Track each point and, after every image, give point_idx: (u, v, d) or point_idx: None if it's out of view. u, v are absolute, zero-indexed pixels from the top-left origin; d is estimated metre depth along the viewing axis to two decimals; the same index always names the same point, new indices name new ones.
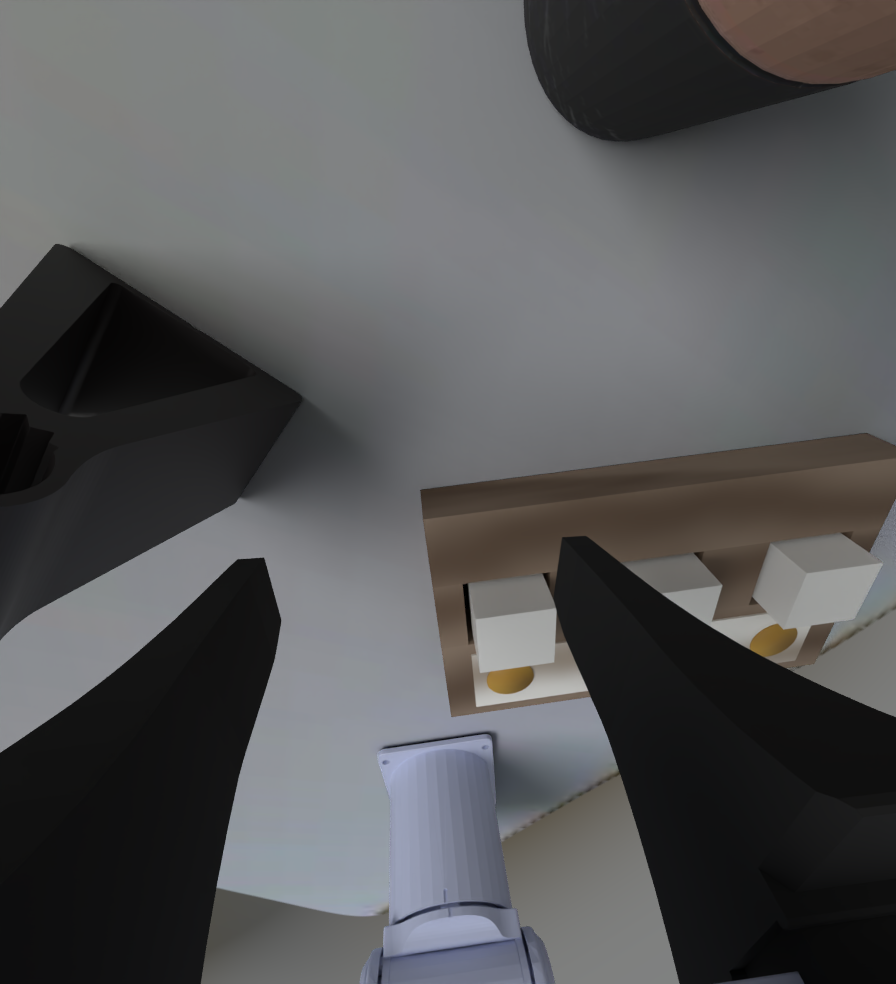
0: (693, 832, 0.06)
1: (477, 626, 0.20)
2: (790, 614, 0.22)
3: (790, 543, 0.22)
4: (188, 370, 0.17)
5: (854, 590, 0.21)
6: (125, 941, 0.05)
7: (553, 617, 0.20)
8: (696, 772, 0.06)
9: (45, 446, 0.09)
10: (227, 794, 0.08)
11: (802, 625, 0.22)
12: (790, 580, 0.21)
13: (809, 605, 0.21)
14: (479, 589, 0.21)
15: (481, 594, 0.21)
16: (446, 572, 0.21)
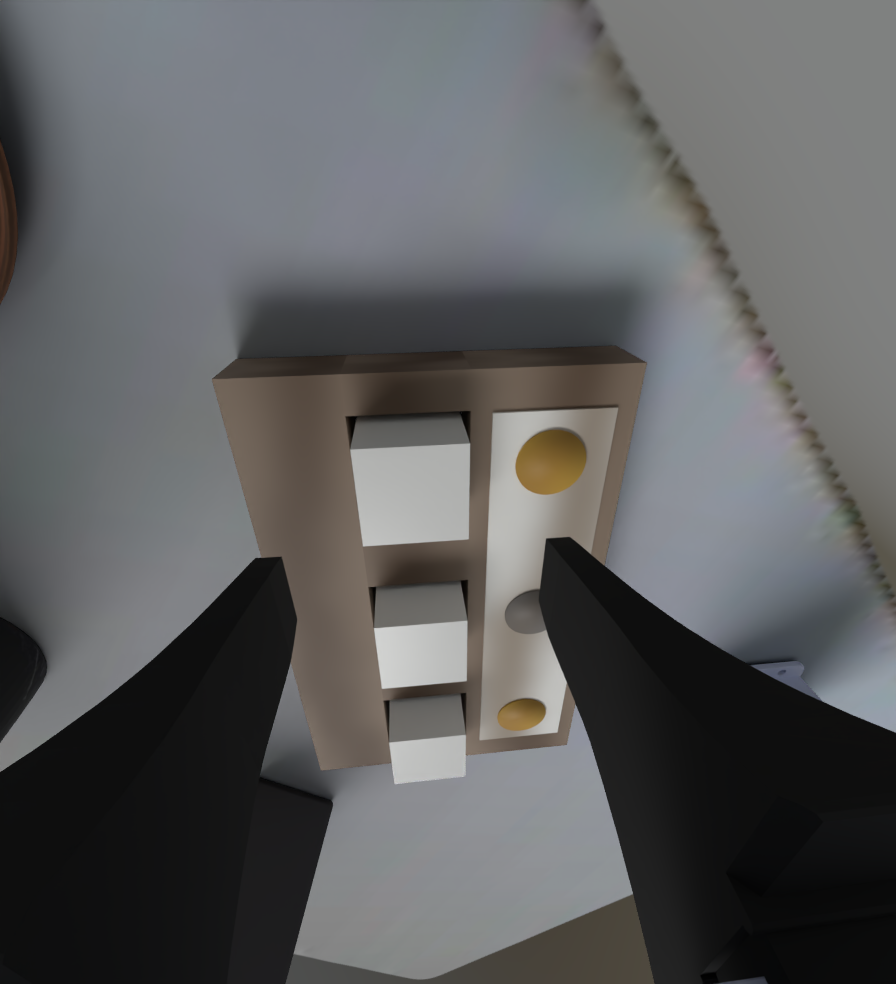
0: (667, 835, 0.06)
1: (403, 782, 0.23)
2: (439, 540, 0.15)
3: None
4: None
5: (403, 470, 0.14)
6: (160, 937, 0.05)
7: (401, 743, 0.21)
8: (669, 775, 0.06)
9: None
10: (249, 792, 0.08)
11: (466, 516, 0.15)
12: None
13: (426, 522, 0.15)
14: None
15: None
16: (375, 757, 0.25)
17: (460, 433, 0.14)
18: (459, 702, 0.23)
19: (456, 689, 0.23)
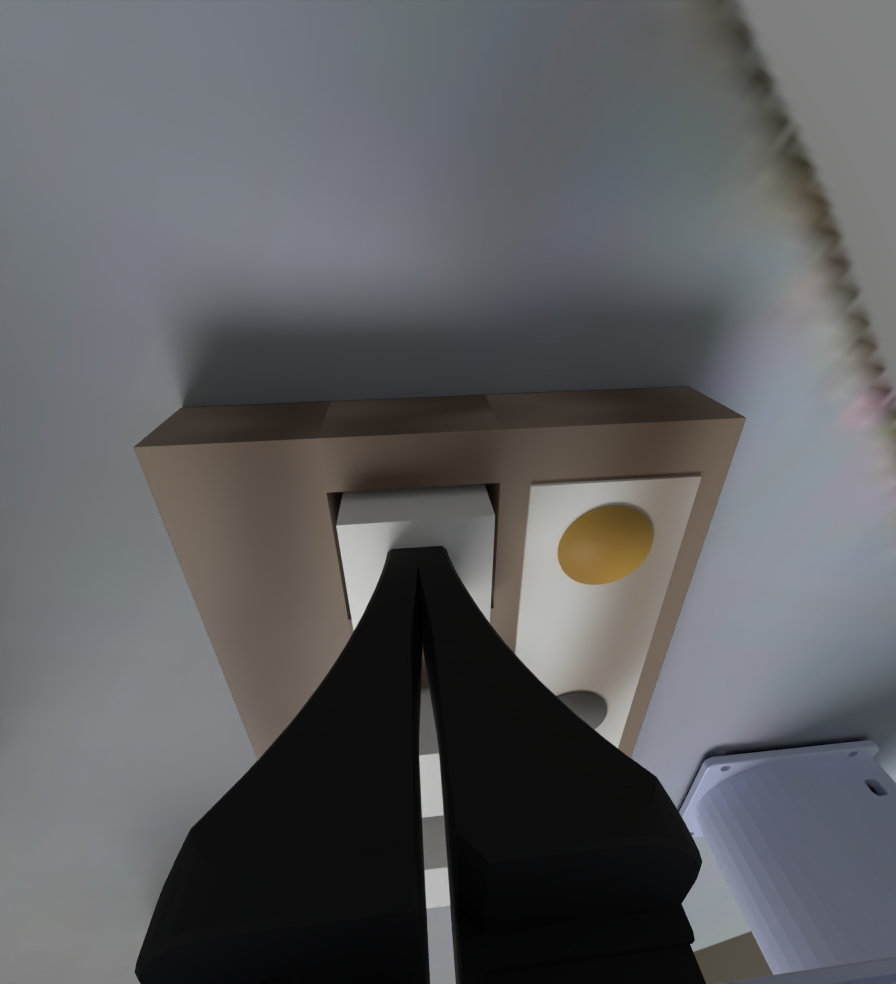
0: (450, 862, 0.06)
1: None
2: None
3: None
4: None
5: None
6: (422, 903, 0.06)
7: None
8: (447, 800, 0.06)
9: None
10: (419, 773, 0.09)
11: (487, 601, 0.12)
12: None
13: None
14: None
15: None
16: None
17: (481, 498, 0.11)
18: None
19: None
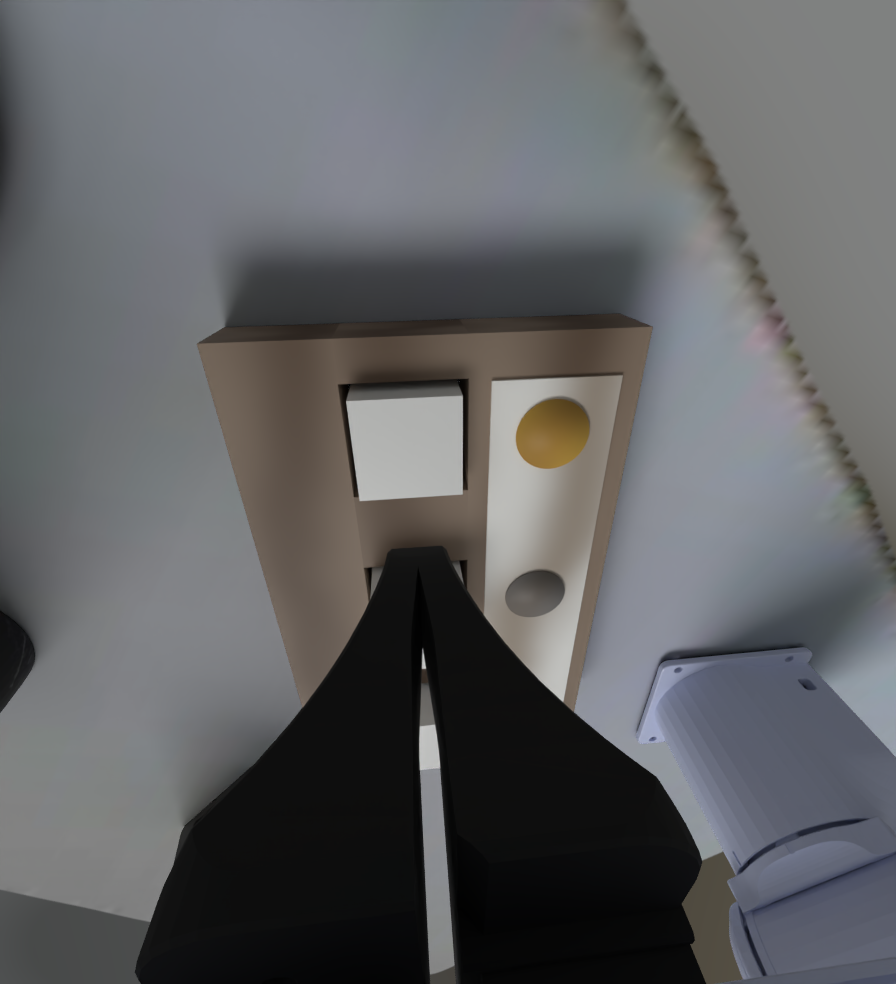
0: (450, 862, 0.06)
1: None
2: (434, 495, 0.16)
3: None
4: None
5: (398, 423, 0.14)
6: (422, 903, 0.06)
7: None
8: (447, 800, 0.06)
9: None
10: (419, 773, 0.09)
11: (459, 470, 0.15)
12: None
13: (421, 476, 0.15)
14: None
15: None
16: None
17: (453, 388, 0.15)
18: None
19: None
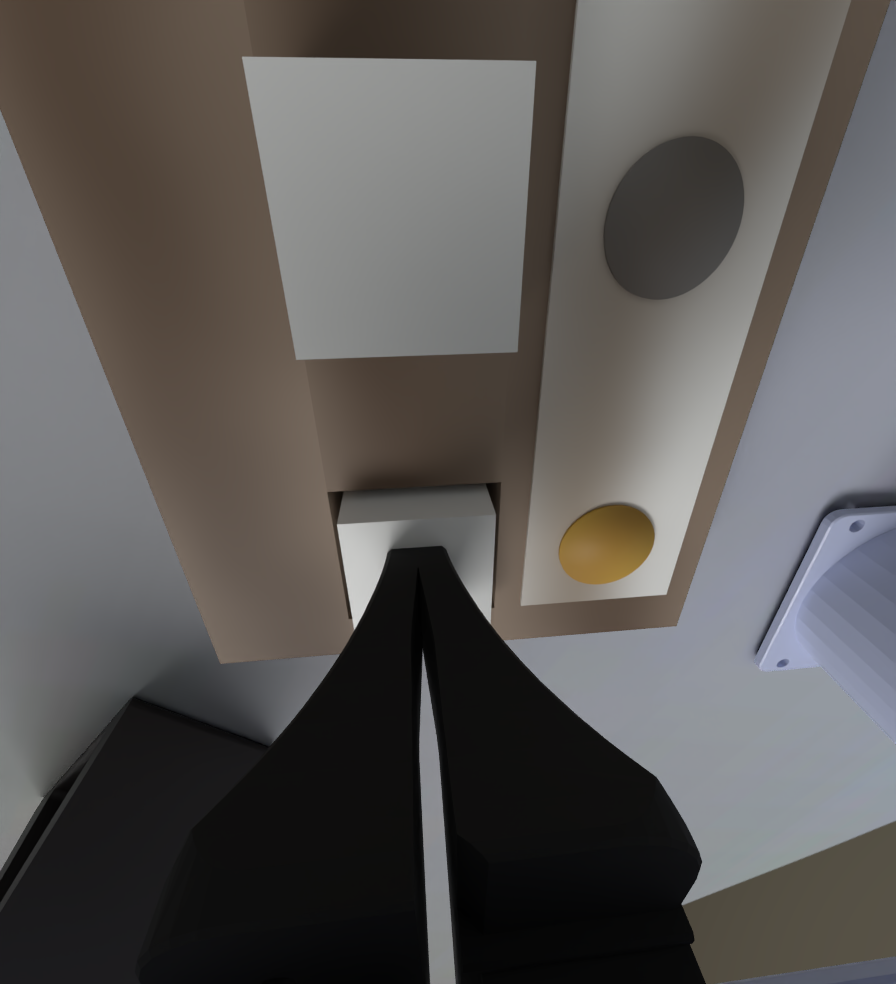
0: (450, 862, 0.06)
1: None
2: None
3: None
4: None
5: None
6: (422, 902, 0.06)
7: (362, 527, 0.10)
8: (446, 800, 0.06)
9: None
10: (419, 773, 0.09)
11: None
12: None
13: None
14: None
15: None
16: (322, 638, 0.13)
17: None
18: None
19: (480, 471, 0.11)
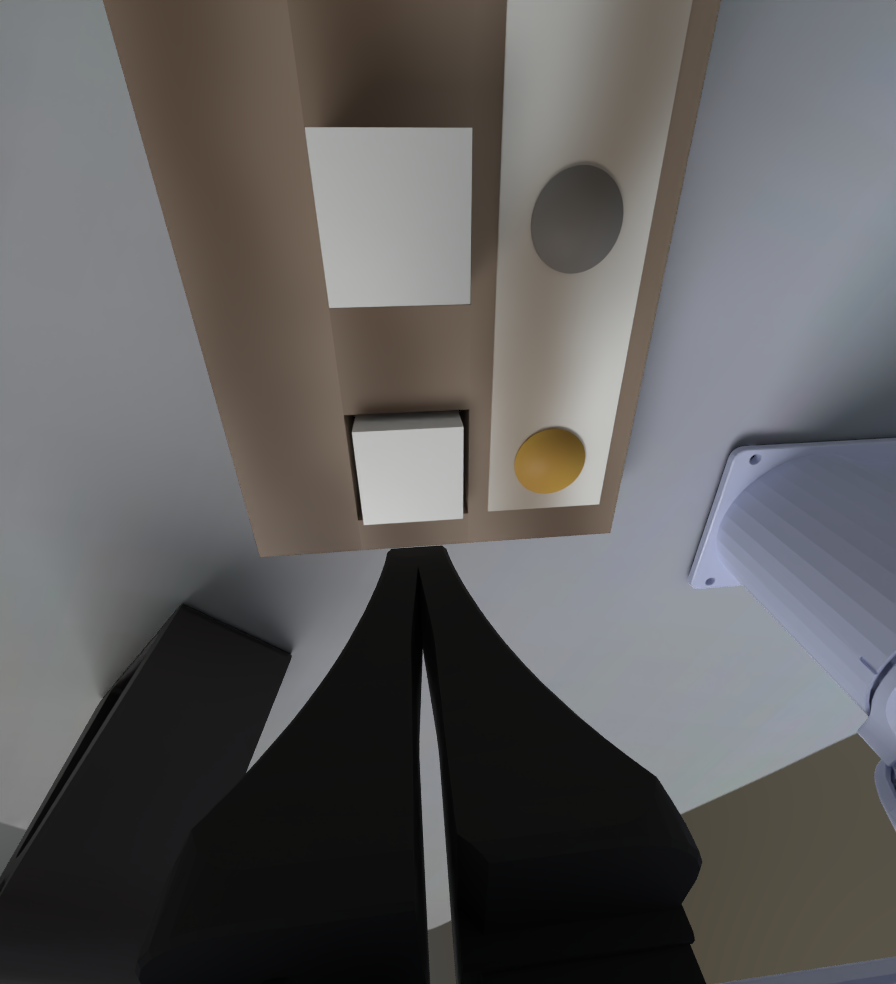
0: (450, 862, 0.06)
1: (376, 523, 0.16)
2: None
3: None
4: None
5: None
6: (422, 903, 0.06)
7: (369, 435, 0.15)
8: (447, 800, 0.06)
9: None
10: (419, 773, 0.09)
11: None
12: None
13: None
14: None
15: None
16: (338, 536, 0.17)
17: None
18: None
19: (453, 400, 0.15)
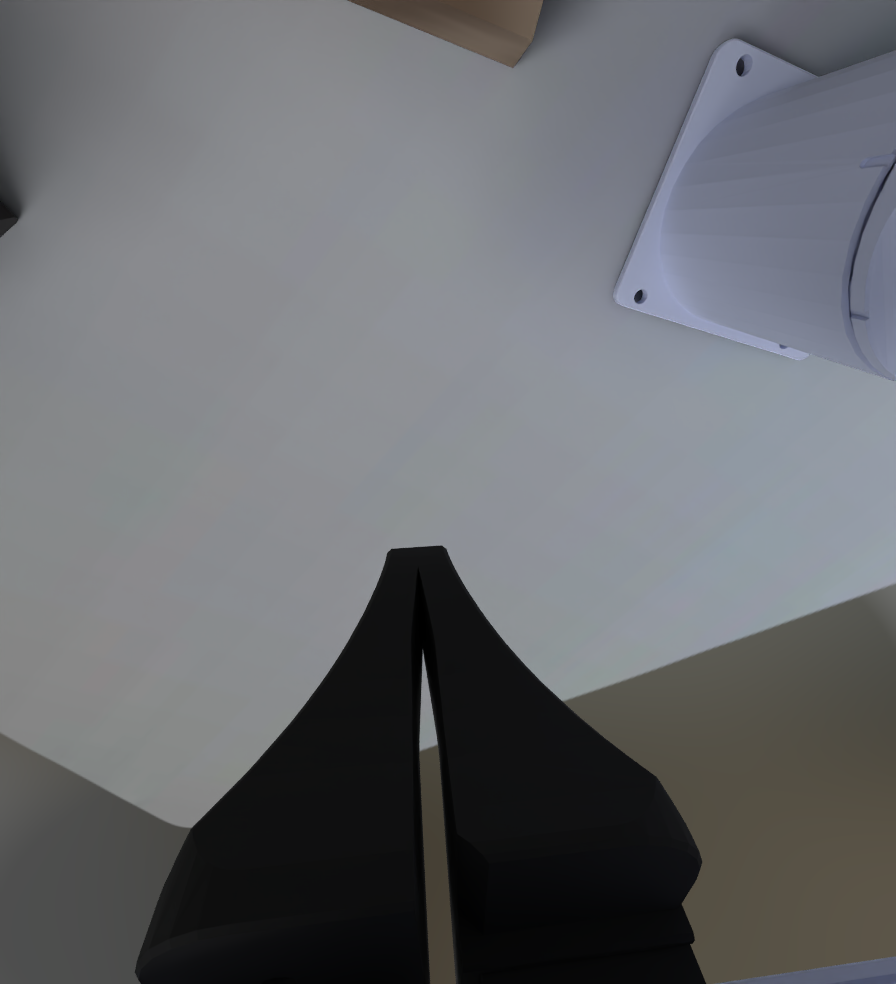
0: (450, 862, 0.06)
1: None
2: None
3: None
4: None
5: None
6: (422, 903, 0.06)
7: None
8: (447, 800, 0.06)
9: None
10: (419, 773, 0.09)
11: None
12: None
13: None
14: None
15: None
16: None
17: None
18: None
19: None
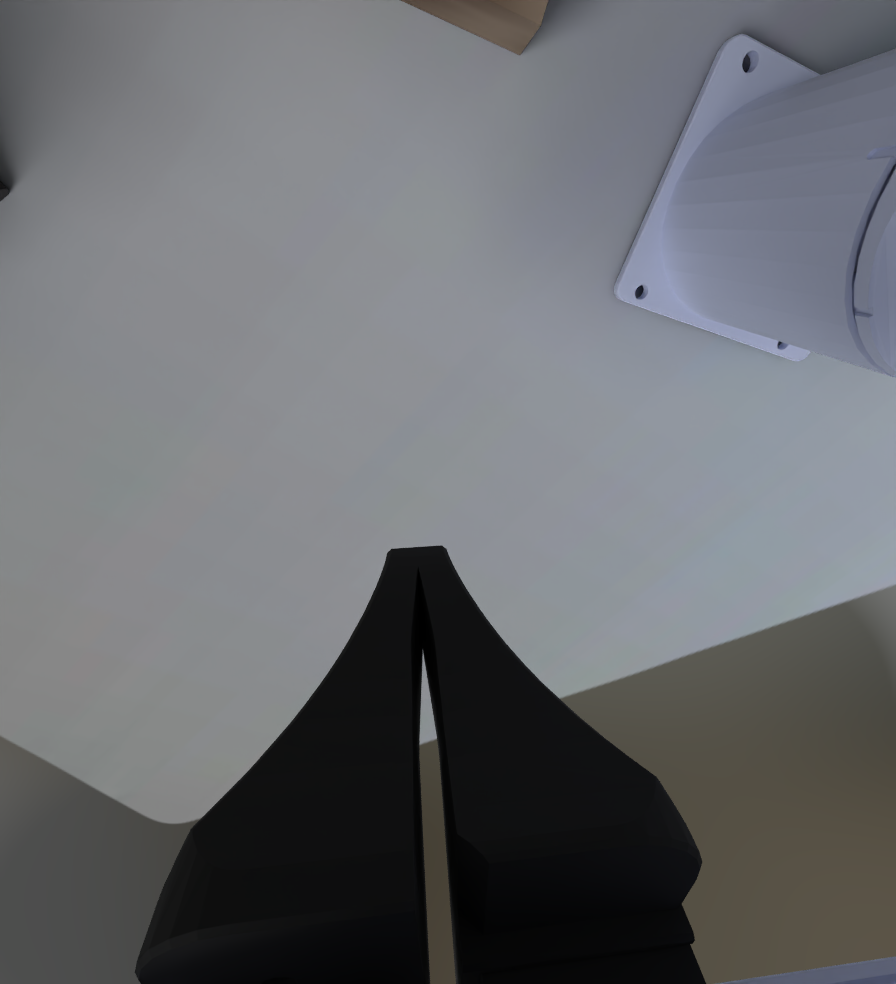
0: (450, 862, 0.06)
1: None
2: None
3: None
4: None
5: None
6: (422, 903, 0.06)
7: None
8: (447, 800, 0.06)
9: None
10: (419, 773, 0.09)
11: None
12: None
13: None
14: None
15: None
16: None
17: None
18: None
19: None
